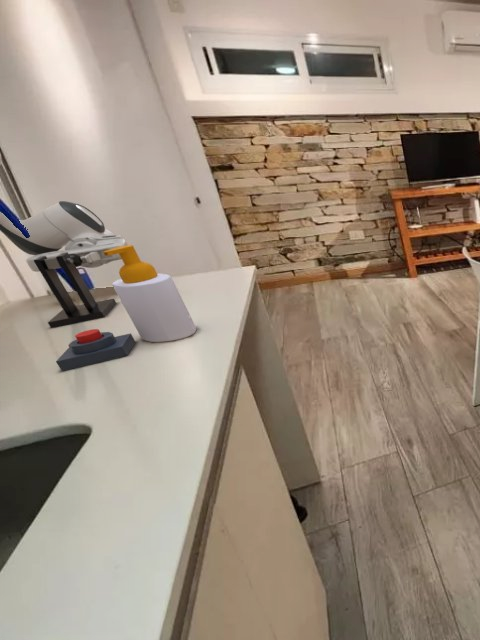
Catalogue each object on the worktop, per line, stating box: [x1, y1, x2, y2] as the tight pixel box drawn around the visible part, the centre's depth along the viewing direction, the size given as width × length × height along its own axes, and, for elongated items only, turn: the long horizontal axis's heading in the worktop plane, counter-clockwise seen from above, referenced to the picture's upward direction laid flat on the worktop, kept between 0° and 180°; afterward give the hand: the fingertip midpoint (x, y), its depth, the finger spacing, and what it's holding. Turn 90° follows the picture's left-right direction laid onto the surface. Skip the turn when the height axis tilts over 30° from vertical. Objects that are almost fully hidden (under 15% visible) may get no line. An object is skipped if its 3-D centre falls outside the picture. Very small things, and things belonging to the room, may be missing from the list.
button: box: [74, 328, 103, 344], centre depth 97 cm, size 4×4×2 cm
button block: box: [55, 331, 136, 372], centre depth 98 cm, size 10×8×4 cm
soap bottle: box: [103, 244, 197, 343], centre depth 103 cm, size 13×8×20 cm, turn 73°
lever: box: [44, 254, 83, 270], centre depth 121 cm, size 14×4×4 cm, turn 31°
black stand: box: [33, 252, 117, 329], centre depth 119 cm, size 12×10×16 cm
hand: (72, 262), depth 125 cm, fingers closed on lever, 3 cm apart
